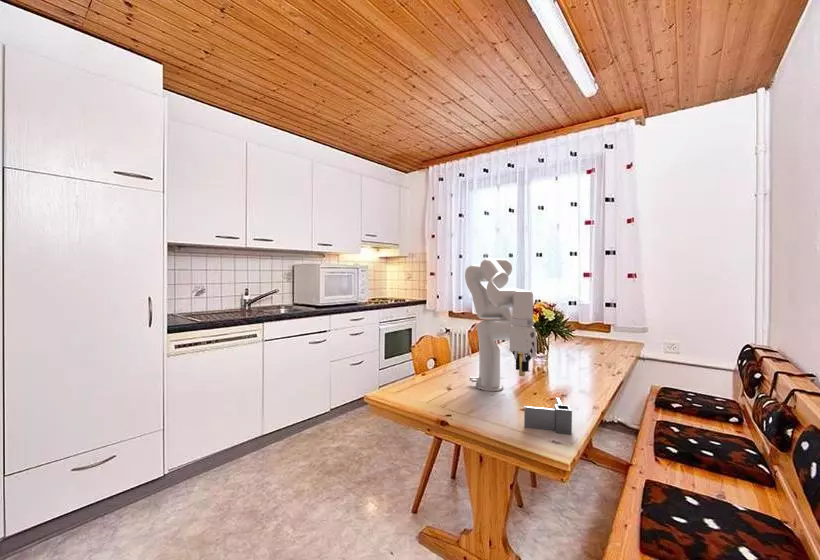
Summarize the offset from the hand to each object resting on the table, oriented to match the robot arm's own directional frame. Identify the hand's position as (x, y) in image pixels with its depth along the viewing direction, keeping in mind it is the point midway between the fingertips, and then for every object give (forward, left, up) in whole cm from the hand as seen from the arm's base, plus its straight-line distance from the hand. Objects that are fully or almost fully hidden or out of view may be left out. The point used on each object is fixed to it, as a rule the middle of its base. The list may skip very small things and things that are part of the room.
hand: (522, 369), depth 136 cm
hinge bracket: (+8, -9, -16) cm, 20 cm away
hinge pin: (0, 0, -2) cm, 2 cm away
